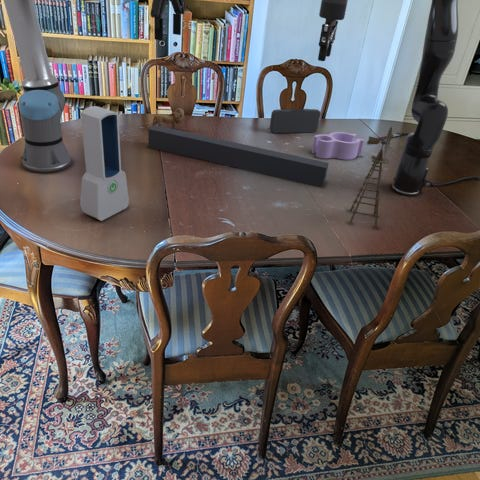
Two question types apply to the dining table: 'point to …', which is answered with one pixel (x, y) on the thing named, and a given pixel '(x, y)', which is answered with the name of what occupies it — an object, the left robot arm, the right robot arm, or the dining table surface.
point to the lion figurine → (169, 118)
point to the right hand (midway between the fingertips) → (323, 58)
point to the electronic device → (102, 165)
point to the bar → (238, 155)
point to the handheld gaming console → (294, 120)
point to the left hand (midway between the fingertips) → (168, 37)
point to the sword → (391, 136)
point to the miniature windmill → (377, 160)
